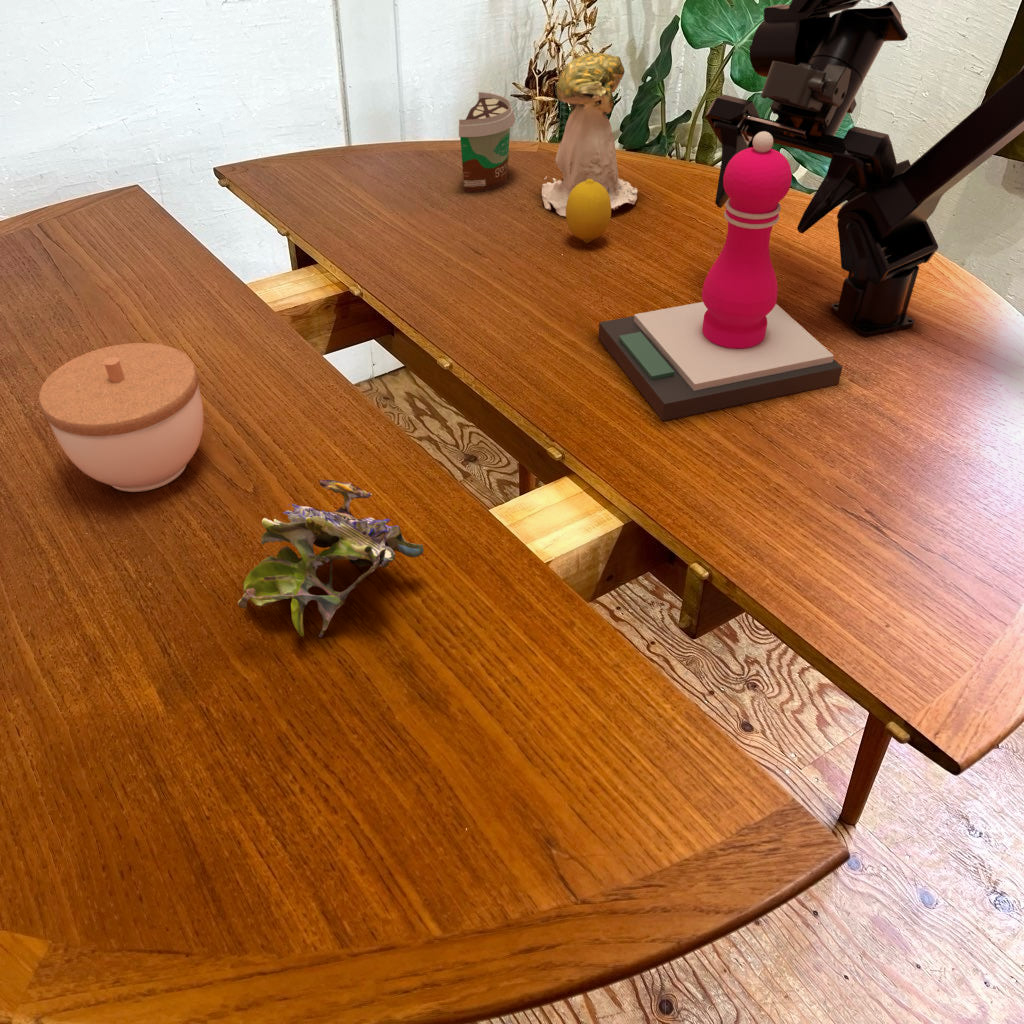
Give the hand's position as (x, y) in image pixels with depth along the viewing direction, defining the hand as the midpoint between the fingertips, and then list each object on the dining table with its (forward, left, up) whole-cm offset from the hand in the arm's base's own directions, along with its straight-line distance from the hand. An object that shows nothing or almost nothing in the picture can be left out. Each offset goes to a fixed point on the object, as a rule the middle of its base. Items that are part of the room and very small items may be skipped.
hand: (757, 218), depth 95 cm
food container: (+13, -48, -13) cm, 51 cm away
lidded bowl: (+62, +4, -12) cm, 63 cm away
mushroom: (+3, -37, -12) cm, 39 cm away
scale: (+6, +5, -12) cm, 14 cm away
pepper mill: (+4, +5, -10) cm, 12 cm away
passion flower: (+49, +26, -12) cm, 57 cm away
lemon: (+8, -25, -13) cm, 29 cm away
